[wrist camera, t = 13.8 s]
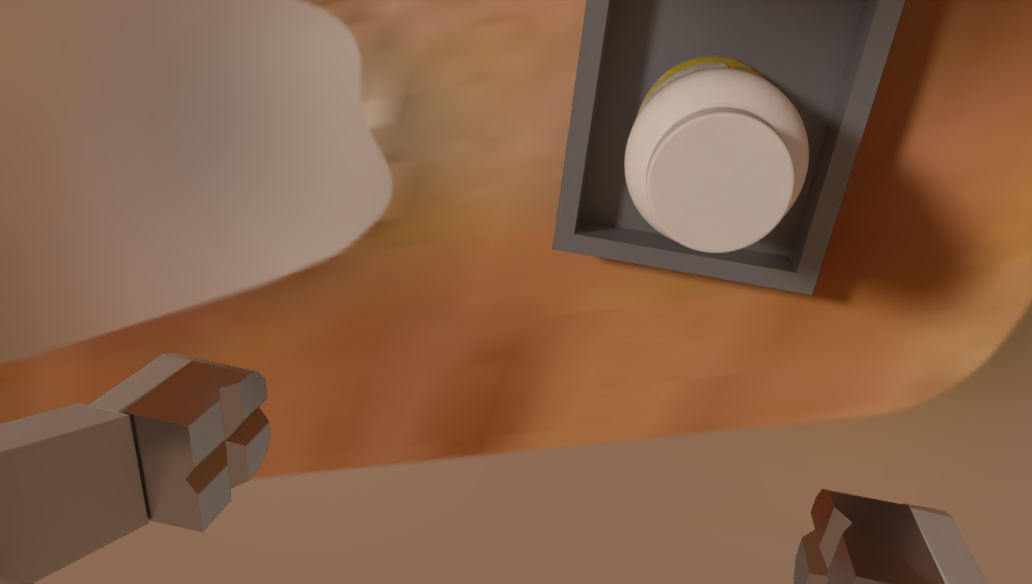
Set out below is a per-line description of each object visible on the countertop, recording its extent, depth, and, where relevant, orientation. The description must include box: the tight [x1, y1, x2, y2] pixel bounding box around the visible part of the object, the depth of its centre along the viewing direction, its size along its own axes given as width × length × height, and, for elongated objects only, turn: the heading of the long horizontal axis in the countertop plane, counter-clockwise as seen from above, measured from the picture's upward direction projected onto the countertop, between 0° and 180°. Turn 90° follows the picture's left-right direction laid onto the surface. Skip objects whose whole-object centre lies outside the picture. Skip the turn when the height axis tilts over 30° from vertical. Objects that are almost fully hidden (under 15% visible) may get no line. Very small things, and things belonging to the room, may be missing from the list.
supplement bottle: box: [624, 55, 809, 253], centre depth 28 cm, size 7×7×13 cm
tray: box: [553, 0, 905, 295], centre depth 32 cm, size 15×13×3 cm
